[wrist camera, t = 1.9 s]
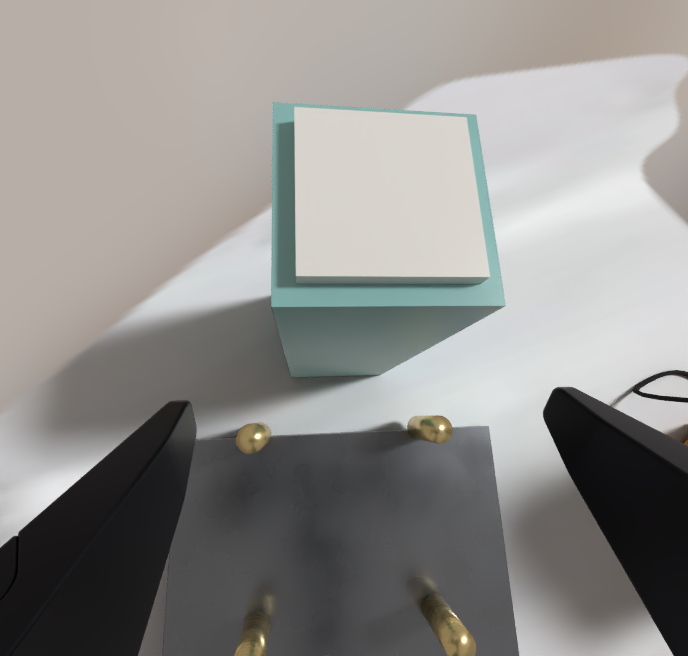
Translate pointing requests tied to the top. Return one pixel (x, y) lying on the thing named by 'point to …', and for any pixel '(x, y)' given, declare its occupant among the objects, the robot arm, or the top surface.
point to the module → (377, 235)
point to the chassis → (341, 546)
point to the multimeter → (666, 398)
